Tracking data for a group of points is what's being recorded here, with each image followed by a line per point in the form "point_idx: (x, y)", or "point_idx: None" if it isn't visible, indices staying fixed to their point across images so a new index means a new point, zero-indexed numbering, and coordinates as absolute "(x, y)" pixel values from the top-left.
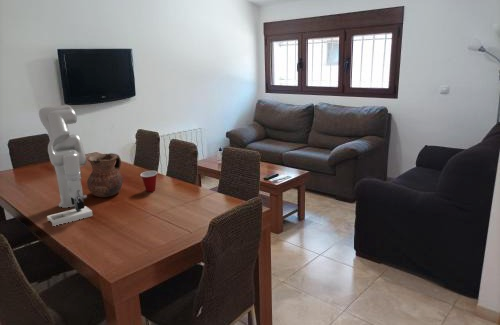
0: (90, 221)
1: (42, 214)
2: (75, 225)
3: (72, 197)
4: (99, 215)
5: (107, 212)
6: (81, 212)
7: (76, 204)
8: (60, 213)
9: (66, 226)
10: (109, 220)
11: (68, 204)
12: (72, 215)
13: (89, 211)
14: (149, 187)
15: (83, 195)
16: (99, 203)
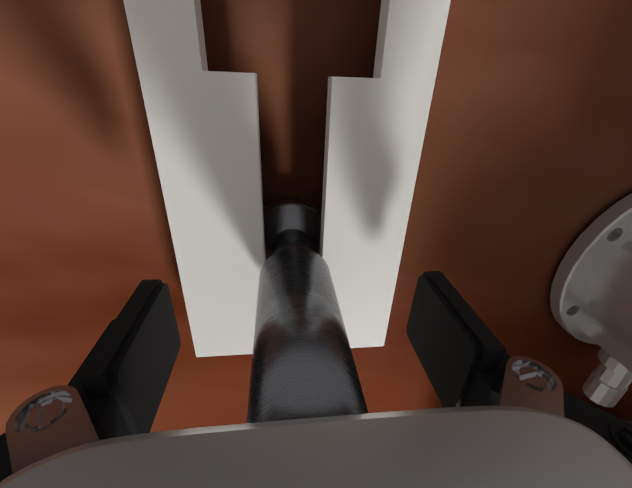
0: (66, 269)
1: None
2: (14, 116)
3: (154, 457)
4: (182, 353)
5: (209, 401)
6: (219, 275)
7: (263, 318)
8: (400, 56)
9: (32, 5)
10: (4, 378)
11: (626, 246)
12: (183, 165)
13: (193, 337)
14: None
15: (624, 391)
16: (434, 401)
